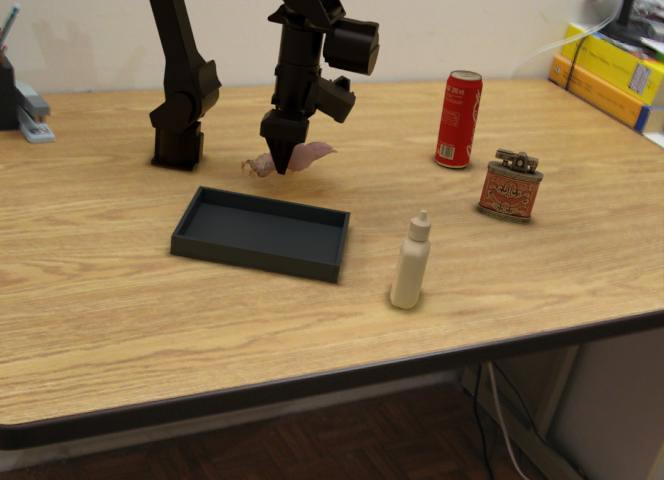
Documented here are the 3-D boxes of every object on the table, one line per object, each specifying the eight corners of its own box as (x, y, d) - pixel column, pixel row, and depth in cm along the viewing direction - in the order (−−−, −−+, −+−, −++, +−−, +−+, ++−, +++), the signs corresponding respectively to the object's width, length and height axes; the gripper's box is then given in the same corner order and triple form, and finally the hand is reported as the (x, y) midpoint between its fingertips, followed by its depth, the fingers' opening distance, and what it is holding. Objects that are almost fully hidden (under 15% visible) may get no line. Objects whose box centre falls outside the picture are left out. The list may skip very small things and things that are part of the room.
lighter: (530, 216, 131) (549, 155, 126) (528, 226, 128) (547, 163, 123) (478, 203, 133) (494, 142, 128) (474, 212, 130) (490, 150, 125)
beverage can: (467, 172, 143) (489, 84, 135) (428, 165, 143) (448, 76, 135) (468, 159, 148) (490, 72, 140) (430, 151, 148) (449, 65, 140)
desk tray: (170, 253, 109) (171, 235, 108) (198, 202, 122) (199, 185, 121) (336, 284, 108) (340, 266, 106) (347, 228, 121) (350, 212, 119)
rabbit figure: (255, 194, 124) (345, 168, 129) (253, 157, 120) (346, 132, 126) (236, 175, 128) (324, 150, 134) (234, 138, 125) (325, 115, 130)
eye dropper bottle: (375, 296, 106) (394, 209, 100) (404, 283, 110) (423, 197, 104) (403, 313, 104) (423, 224, 98) (431, 298, 107) (453, 212, 101)
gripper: (351, 91, 111) (332, 201, 119) (362, 50, 126) (345, 149, 135) (265, 76, 111) (252, 186, 120) (287, 37, 127) (274, 137, 135)
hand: (285, 164), depth 127 cm, fingers closed on rabbit figure, 7 cm apart
